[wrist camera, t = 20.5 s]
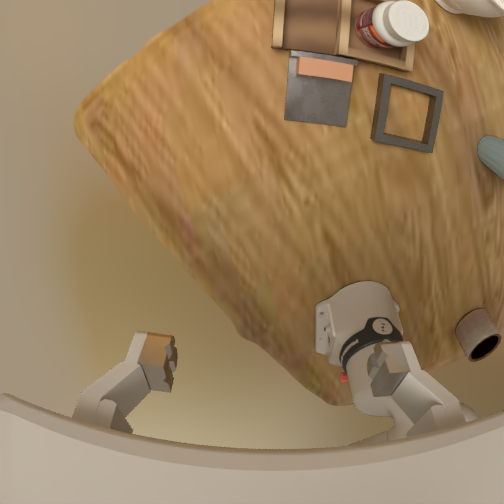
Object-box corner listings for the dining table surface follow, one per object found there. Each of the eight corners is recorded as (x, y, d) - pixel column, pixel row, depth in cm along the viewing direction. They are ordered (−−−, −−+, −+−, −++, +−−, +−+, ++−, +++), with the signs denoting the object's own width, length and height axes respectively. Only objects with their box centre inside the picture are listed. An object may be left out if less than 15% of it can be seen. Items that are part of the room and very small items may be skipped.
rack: (405, 71, 35) (415, 72, 32) (271, 47, 35) (272, 45, 32) (410, 8, 29) (420, 5, 26) (275, -20, 29) (277, -27, 26)
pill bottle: (348, 36, 33) (376, 27, 23) (361, 3, 29) (393, -14, 20) (386, 56, 34) (423, 55, 24) (399, 23, 30) (438, 15, 21)
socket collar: (426, 149, 42) (432, 153, 40) (370, 138, 42) (374, 141, 40) (437, 89, 36) (443, 91, 34) (379, 73, 36) (384, 73, 34)
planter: (461, 310, 62) (477, 338, 54) (491, 303, 61) (508, 329, 53) (449, 339, 68) (462, 366, 60) (478, 331, 67) (492, 356, 59)
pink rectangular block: (344, 80, 37) (351, 82, 34) (295, 73, 37) (298, 74, 34) (346, 65, 35) (353, 65, 32) (296, 57, 35) (300, 56, 32)
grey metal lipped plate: (344, 126, 41) (349, 129, 39) (284, 118, 41) (285, 121, 39) (352, 60, 35) (358, 60, 33) (289, 51, 35) (291, 50, 33)
